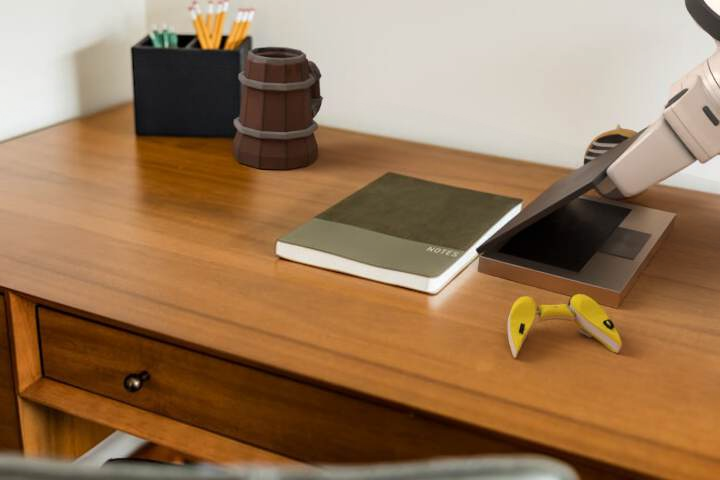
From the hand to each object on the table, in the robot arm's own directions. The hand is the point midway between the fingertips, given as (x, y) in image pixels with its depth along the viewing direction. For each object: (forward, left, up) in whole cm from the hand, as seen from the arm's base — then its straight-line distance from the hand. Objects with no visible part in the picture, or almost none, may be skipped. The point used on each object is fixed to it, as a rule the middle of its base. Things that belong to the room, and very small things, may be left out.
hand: (602, 185), depth 99 cm
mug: (+48, -8, -8) cm, 49 cm away
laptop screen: (+3, 0, -1) cm, 3 cm away
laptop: (+1, 0, -8) cm, 8 cm away
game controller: (-3, +23, -8) cm, 24 cm away
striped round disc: (+2, -19, -8) cm, 21 cm away
